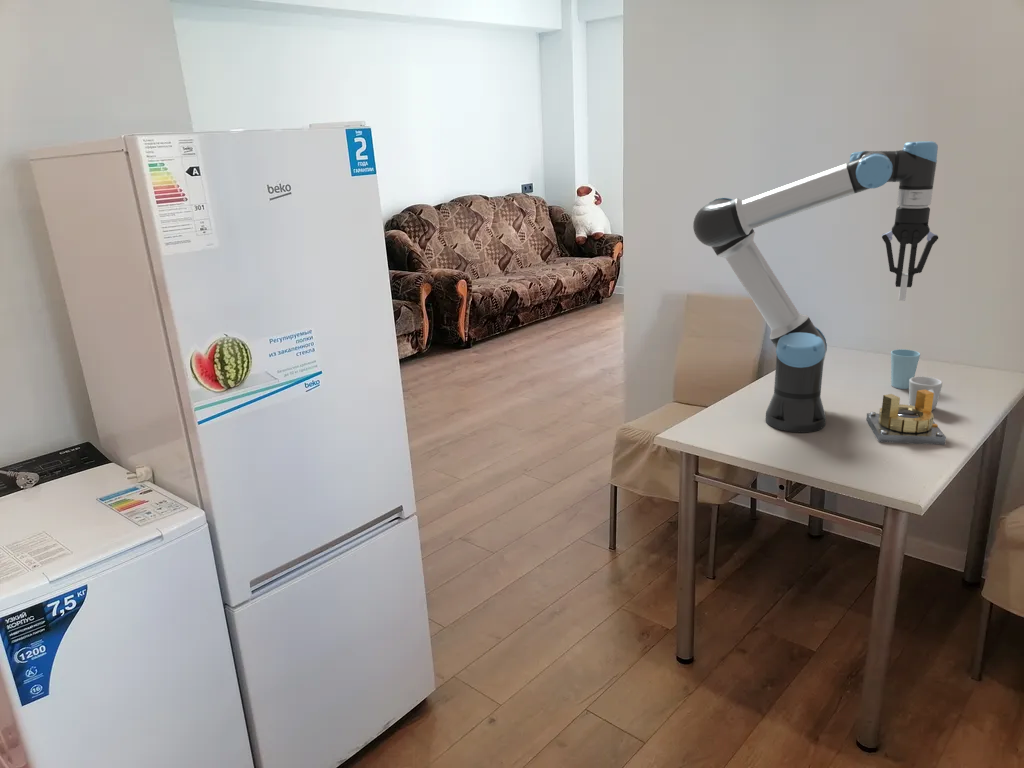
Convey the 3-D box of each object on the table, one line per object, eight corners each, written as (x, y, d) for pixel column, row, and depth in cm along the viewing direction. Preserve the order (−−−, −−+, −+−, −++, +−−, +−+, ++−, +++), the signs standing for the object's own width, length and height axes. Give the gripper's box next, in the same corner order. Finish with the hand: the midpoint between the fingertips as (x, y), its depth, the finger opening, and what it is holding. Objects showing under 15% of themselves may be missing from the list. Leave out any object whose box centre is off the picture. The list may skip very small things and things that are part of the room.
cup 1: (889, 389, 225) (893, 356, 221) (885, 381, 231) (889, 348, 228) (918, 391, 222) (922, 357, 219) (913, 382, 229) (917, 349, 226)
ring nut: (868, 418, 198) (871, 389, 196) (909, 412, 201) (912, 384, 198) (900, 435, 187) (904, 404, 185) (943, 428, 190) (947, 398, 187)
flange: (878, 442, 189) (881, 422, 188) (866, 420, 203) (868, 401, 202) (944, 444, 186) (947, 425, 184) (927, 422, 200) (930, 403, 198)
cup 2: (946, 417, 202) (950, 389, 200) (913, 416, 204) (917, 388, 202) (933, 403, 212) (937, 376, 210) (902, 402, 214) (905, 375, 212)
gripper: (884, 208, 188) (874, 301, 196) (944, 208, 183) (931, 303, 191) (884, 204, 195) (873, 295, 202) (941, 204, 190) (929, 297, 197)
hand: (901, 299), depth 196 cm, fingers closed
